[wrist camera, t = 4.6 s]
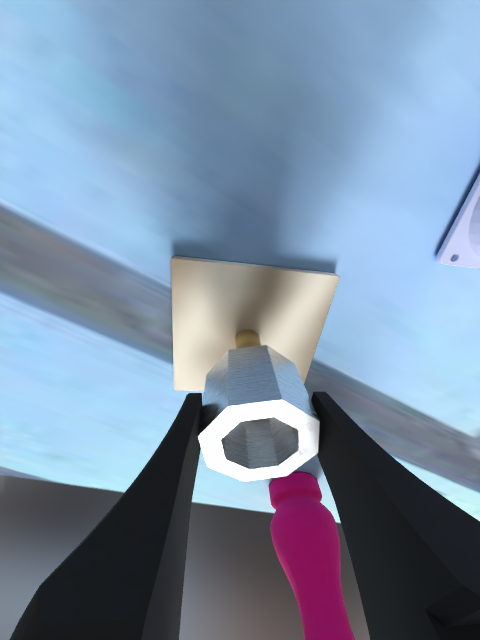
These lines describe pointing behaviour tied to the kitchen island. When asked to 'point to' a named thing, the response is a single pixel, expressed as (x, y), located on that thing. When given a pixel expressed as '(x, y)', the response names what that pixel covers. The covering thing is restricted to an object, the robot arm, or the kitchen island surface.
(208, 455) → the collar
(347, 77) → the kitchen island surface
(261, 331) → the post block
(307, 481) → the pepper mill
